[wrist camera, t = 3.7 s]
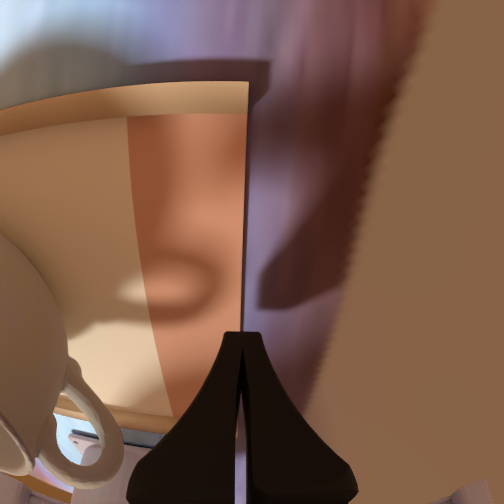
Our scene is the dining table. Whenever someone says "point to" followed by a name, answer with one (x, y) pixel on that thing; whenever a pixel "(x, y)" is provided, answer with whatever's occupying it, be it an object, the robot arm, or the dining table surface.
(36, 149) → the beige flat rectangular board
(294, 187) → the dining table surface
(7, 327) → the teacup
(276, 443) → the robot arm
